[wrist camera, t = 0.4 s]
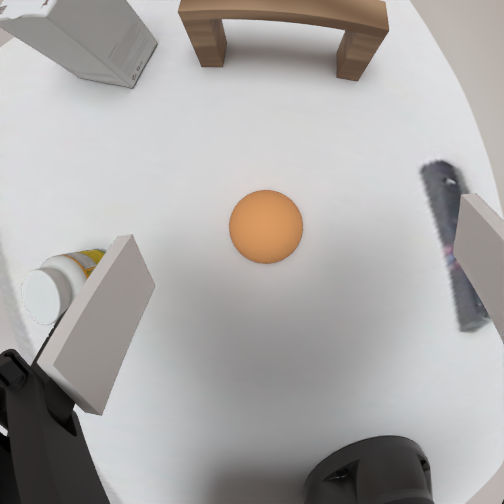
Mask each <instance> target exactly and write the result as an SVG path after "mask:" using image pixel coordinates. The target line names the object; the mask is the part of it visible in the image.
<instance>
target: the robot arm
mask: <svg viewBox="0 0 504 504" xmlns="http://www.w3.org/2000/svg"><path fill="white" fill-rule="evenodd" d="M453 255H454V256H455V258H456V259H457V261H458V262H459V264H460V266H461V267H462V269H463V270H464V272H465V274H466V275H467V277H468V279H469V280H470V282H471V284H472V285H473V287H474V289H475V290H476V292H477V294H478V296H479V297H480V299H481V301H482V303H483V304H484V306H485V308H486V310H487V312H488V314H489V315H490V317H491V319H492V321H493V323H494V325H495V327H496V329H497V331H498V333H499V335H500V337H501V339H502V341H503V343H504V220H503V219H502V218H501V217H500V216H499V215H498V214H497V213H496V212H495V211H494V210H493V209H492V208H491V207H490V206H489V205H488V204H487V203H486V202H485V201H484V200H483V199H482V198H481V197H480V196H479V195H478V194H477V193H476V194H462V195H461V202H460V210H459V217H458V224H457V231H456V237H455V243H454V249H453ZM154 288H155V284H154V282H153V280H152V277H151V275H150V273H149V271H148V269H147V266H146V264H145V262H144V260H143V258H142V255H141V253H140V251H139V248H138V246H137V244H136V241H135V239H134V237H133V234H131V235H125V236H119V237H117V238H116V240H115V241H114V242H113V244H112V245H111V246H110V248H109V249H108V250H107V252H106V253H105V255H104V256H103V257H102V259H101V260H100V262H99V263H98V265H97V266H96V267H95V269H94V270H93V272H92V273H91V275H90V276H89V278H88V279H87V281H86V282H85V284H84V285H83V287H82V288H81V290H80V291H79V293H78V294H77V296H76V297H75V299H74V300H73V302H72V304H71V305H70V307H69V308H68V309H66V310H65V311H64V312H63V313H62V314H61V315H60V317H59V318H58V320H57V322H56V323H55V325H54V328H52V330H51V332H50V333H49V337H47V338H46V340H45V342H44V343H43V345H42V347H41V349H40V350H39V352H38V354H37V356H36V357H35V359H34V361H33V363H32V365H31V366H29V365H28V364H27V362H26V361H25V360H24V359H23V358H22V357H21V356H20V354H19V353H18V352H17V351H16V350H14V349H8V350H6V351H4V352H2V353H1V354H0V425H1V426H3V427H4V428H5V429H6V430H7V431H8V434H7V436H4V435H3V434H2V433H1V432H0V504H110V502H109V500H108V497H107V495H106V493H105V491H104V488H103V486H102V484H101V481H100V479H99V476H98V474H97V471H96V469H95V466H94V463H93V461H92V458H91V455H90V452H89V450H88V447H87V444H86V441H85V438H84V435H83V432H82V429H81V425H80V422H79V419H78V416H77V414H76V412H75V411H73V408H74V405H75V403H76V404H77V405H78V406H79V407H80V408H81V409H82V410H83V411H84V412H86V413H91V414H96V415H101V416H102V414H103V411H104V409H105V406H106V403H107V401H108V398H109V395H110V393H111V390H112V387H113V385H114V382H115V380H116V377H117V375H118V372H119V370H120V367H121V365H122V362H123V360H124V357H125V355H126V352H127V350H128V348H129V345H130V343H131V340H132V338H133V336H134V333H135V331H136V329H137V326H138V324H139V322H140V319H141V317H142V315H143V313H144V310H145V308H146V306H147V304H148V301H149V299H150V297H151V295H152V293H153V290H154ZM303 495H304V503H305V504H434V502H433V497H432V484H431V473H430V465H429V462H428V459H427V457H426V456H425V454H424V453H423V451H422V450H421V448H420V447H419V446H418V445H417V444H416V443H415V442H413V441H412V440H409V439H407V438H403V437H396V436H385V437H377V438H371V439H367V440H364V441H360V442H357V443H355V444H352V445H350V446H347V447H345V448H343V449H341V450H339V451H337V452H336V453H334V454H332V455H331V456H329V457H328V458H326V459H325V460H324V461H323V462H321V463H320V464H319V465H318V466H317V467H316V468H315V469H314V470H313V471H312V473H311V474H310V475H309V477H308V478H307V480H306V482H305V485H304V490H303ZM502 504H504V500H503V502H502Z"/></svg>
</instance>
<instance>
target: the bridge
mask: <svg viewBox="0 0 504 504" xmlns="http://www.w3.org/2000/svg"><path fill="white" fill-rule="evenodd" d="M178 13H179V16H180V18H181V20H182V22H183V25H184V27H185V29H186V32H187V34H188V36H189V38H190V41H191V43H192V45H193V48H194V50H195V52H196V55H197V57H198V59H199V62H200V64H201V66H202V67H223V63H224V57H225V50H226V44H227V41H226V36H225V32H224V28H223V24H222V19H247V20H267V21H281V22H291V23H301V24H309V25H316V26H323V27H330V28H336V29H341V30H345V33H344V35H343V38H342V40H341V43H340V46H339V48H338V51H337V78H342V79H348V80H354V81H358V80H359V78H360V77H361V75H362V73H363V72H364V70H365V69H366V67H367V65H368V64H369V62H370V61H371V59H372V57H373V56H374V54H375V53H376V51H377V49H378V48H379V46H380V45H381V43H382V41H383V40H384V38H385V37H386V35H387V33H388V32H389V25H388V17H387V10H386V3H385V2H384V1H380V0H181V2H180V6H179V9H178Z"/></svg>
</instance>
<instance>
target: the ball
mask: <svg viewBox="0 0 504 504" xmlns="http://www.w3.org/2000/svg"><path fill="white" fill-rule="evenodd" d="M229 230H230V236H231V239H232V242H233V244H234V246H235V247H236V249H237V250H238V251H239V252H240V253H241V254H242V255H243V256H244V257H246V258H248V259H249V260H252V261H254V262H257V263H265V264H268V263H275V262H278V261H281V260H283V259H285V258H286V257H288V256H289V255H290V254H291V253H292V252H293V251H294V250H295V249H296V247H297V246H298V244H299V242H300V240H301V236H302V231H303V223H302V217H301V214H300V212H299V210H298V208H297V206H296V205H295V204H294V203H293V202H292V200H290V199H289V198H288V197H287V196H285V195H283V194H281V193H279V192H276V191H271V190H261V191H256V192H253V193H251V194H249V195H247V196H245V197H244V198H243V199H242V200H240V201H239V203H238V204H237V205H236V206H235V208H234V210H233V212H232V214H231V218H230V223H229Z"/></svg>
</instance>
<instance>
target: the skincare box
mask: <svg viewBox="0 0 504 504" xmlns="http://www.w3.org/2000/svg"><path fill="white" fill-rule="evenodd" d="M0 28H2V29H3V30H5V31H7V32H8V33H10V34H11V35H13V36H15V37H16V38H18V39H20V40H21V41H23V42H24V43H26V44H28V45H29V46H31V47H32V48H34V49H35V50H37V51H39V52H40V53H42V54H43V55H45V56H46V57H48V58H49V59H51V60H53V61H54V62H56V63H57V64H59V65H60V66H62V67H63V68H65V69H66V70H68V71H69V72H71V73H72V74H74V75H75V76H77V77H78V78H83V79H89V80H94V81H99V82H104V83H109V84H115V85H121V86H125V87H129V88H133V86H134V84H135V83H136V81H137V79H138V77H139V75H140V73H141V71H142V69H143V68H144V66H145V64H146V63H147V61H148V59H149V58H150V56H151V54H152V52H153V51H154V49H155V47H156V46H157V41H156V39H155V38H154V37H153V35H152V34H151V32H150V31H149V30H148V28H147V27H146V26H145V25H144V23H143V22H142V21H141V19H140V18H139V16H138V15H137V14H136V13H135V11H134V10H133V9H132V7H131V6H130V5H129V3H128V2H127V1H126V0H4V1H3V3H2V4H1V6H0Z"/></svg>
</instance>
